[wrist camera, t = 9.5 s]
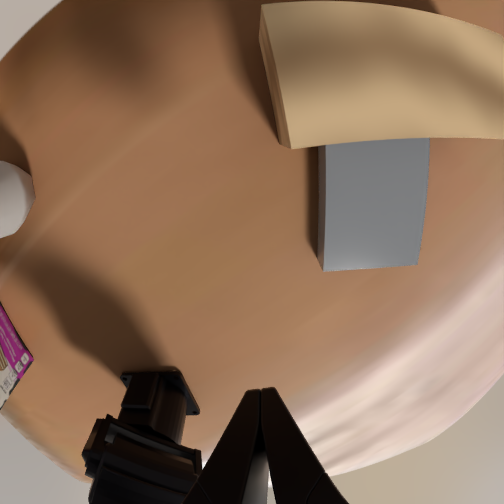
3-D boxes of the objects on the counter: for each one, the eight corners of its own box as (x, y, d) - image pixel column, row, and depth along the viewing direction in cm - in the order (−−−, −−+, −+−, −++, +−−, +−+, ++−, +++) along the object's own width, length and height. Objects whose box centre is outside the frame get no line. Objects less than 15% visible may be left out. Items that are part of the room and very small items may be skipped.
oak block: (470, 132, 16) (519, 140, 11) (279, 143, 17) (291, 149, 12) (455, 45, 13) (502, 34, 8) (258, 39, 14) (261, 4, 9)
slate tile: (402, 251, 20) (417, 264, 18) (315, 255, 20) (323, 271, 18) (407, 64, 15) (425, 58, 12) (311, 51, 15) (319, 41, 13)
